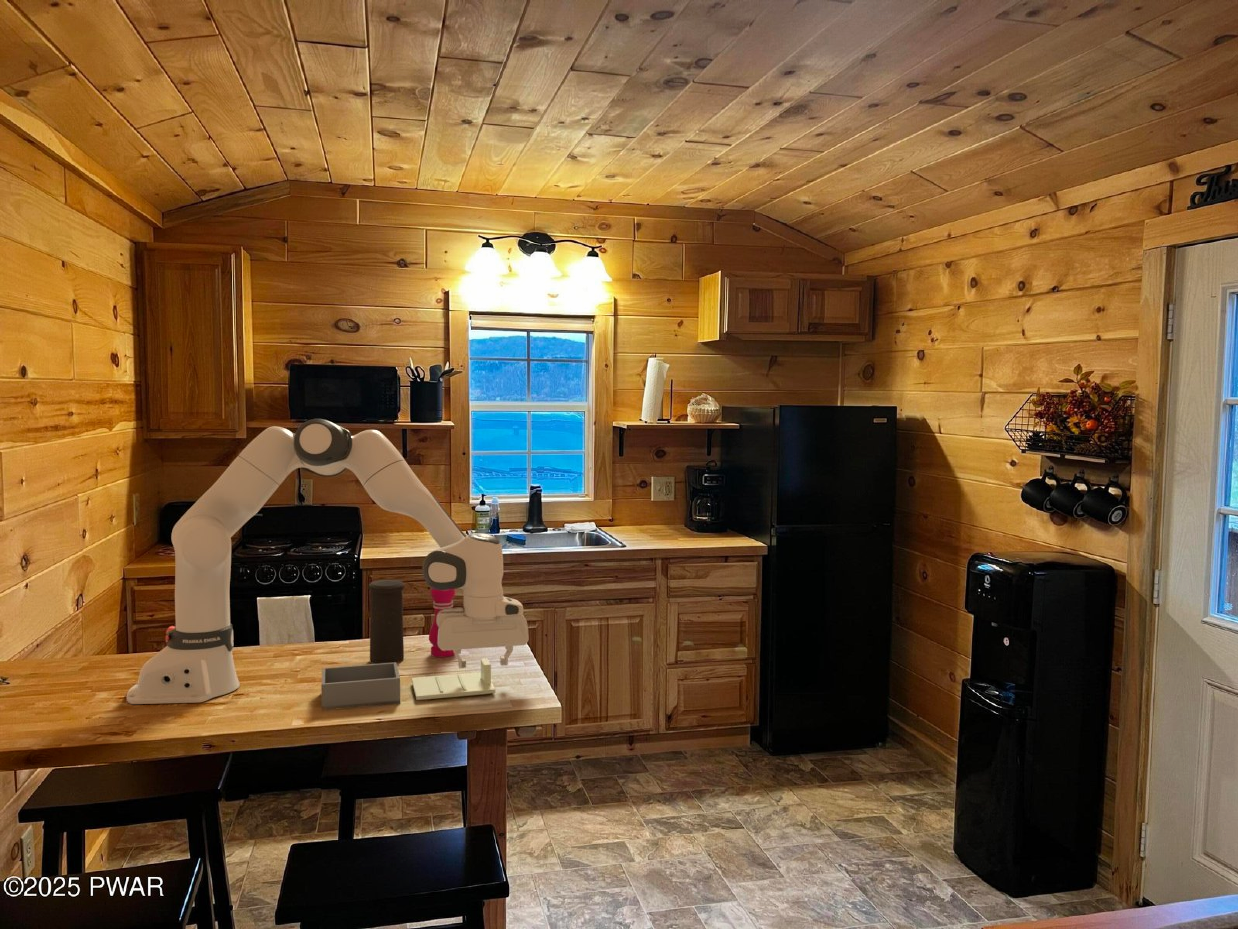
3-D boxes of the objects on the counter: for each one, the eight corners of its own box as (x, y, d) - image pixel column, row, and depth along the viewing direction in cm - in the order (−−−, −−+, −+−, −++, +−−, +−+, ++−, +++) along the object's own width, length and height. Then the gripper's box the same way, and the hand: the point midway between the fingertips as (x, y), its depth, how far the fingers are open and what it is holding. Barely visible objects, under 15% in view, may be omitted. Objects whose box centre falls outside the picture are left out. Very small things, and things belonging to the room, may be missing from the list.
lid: (416, 704, 198) (416, 676, 198) (411, 685, 211) (411, 659, 210) (495, 697, 203) (495, 669, 203) (486, 679, 216) (486, 653, 215)
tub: (321, 710, 193) (321, 684, 193) (322, 692, 204) (322, 668, 204) (400, 703, 198) (400, 678, 197) (396, 686, 209) (396, 662, 209)
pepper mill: (435, 659, 230) (434, 580, 228) (424, 652, 236) (424, 575, 234) (462, 655, 234) (461, 577, 232) (451, 648, 240) (450, 572, 238)
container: (410, 655, 233) (409, 577, 231) (398, 666, 224) (397, 585, 222) (376, 654, 234) (375, 576, 232) (363, 665, 225) (362, 584, 223)
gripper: (437, 611, 201) (438, 674, 202) (530, 606, 207) (529, 667, 208) (435, 605, 207) (435, 665, 208) (524, 600, 213) (524, 659, 214)
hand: (483, 666), depth 208 cm, fingers open, 8 cm apart
